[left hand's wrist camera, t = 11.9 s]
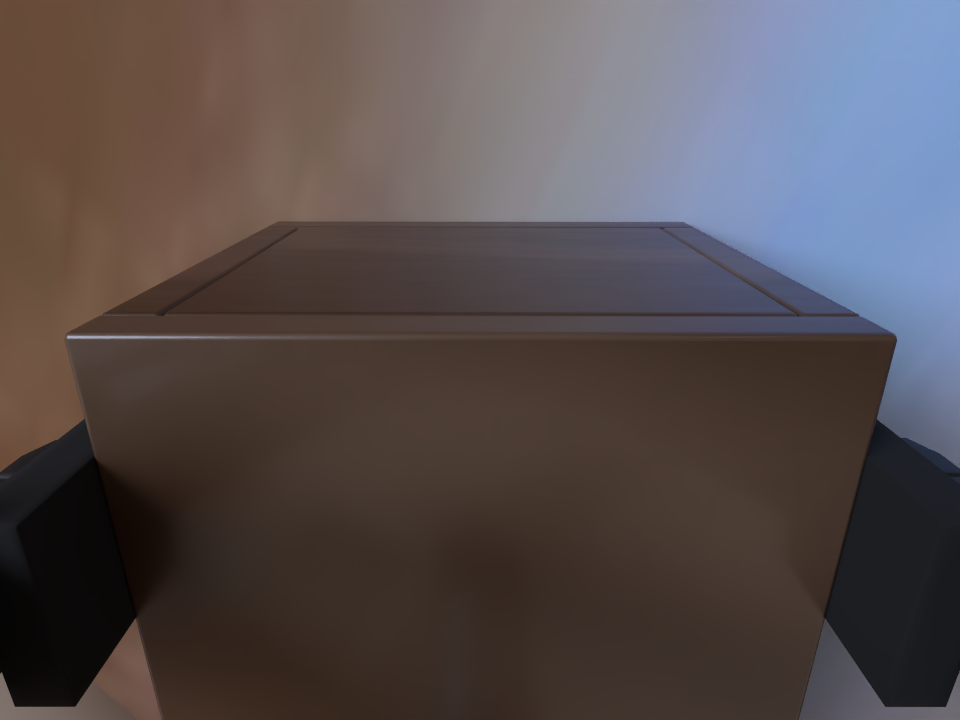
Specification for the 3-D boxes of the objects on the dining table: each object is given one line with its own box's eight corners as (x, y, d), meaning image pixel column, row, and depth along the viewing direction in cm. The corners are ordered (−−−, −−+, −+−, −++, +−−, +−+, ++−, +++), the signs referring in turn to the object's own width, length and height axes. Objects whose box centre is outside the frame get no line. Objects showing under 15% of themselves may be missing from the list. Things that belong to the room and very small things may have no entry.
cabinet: (617, 783, 23) (691, 1139, 15) (341, 783, 23) (267, 1138, 15) (685, 221, 15) (902, 335, 8) (275, 221, 15) (59, 333, 8)
